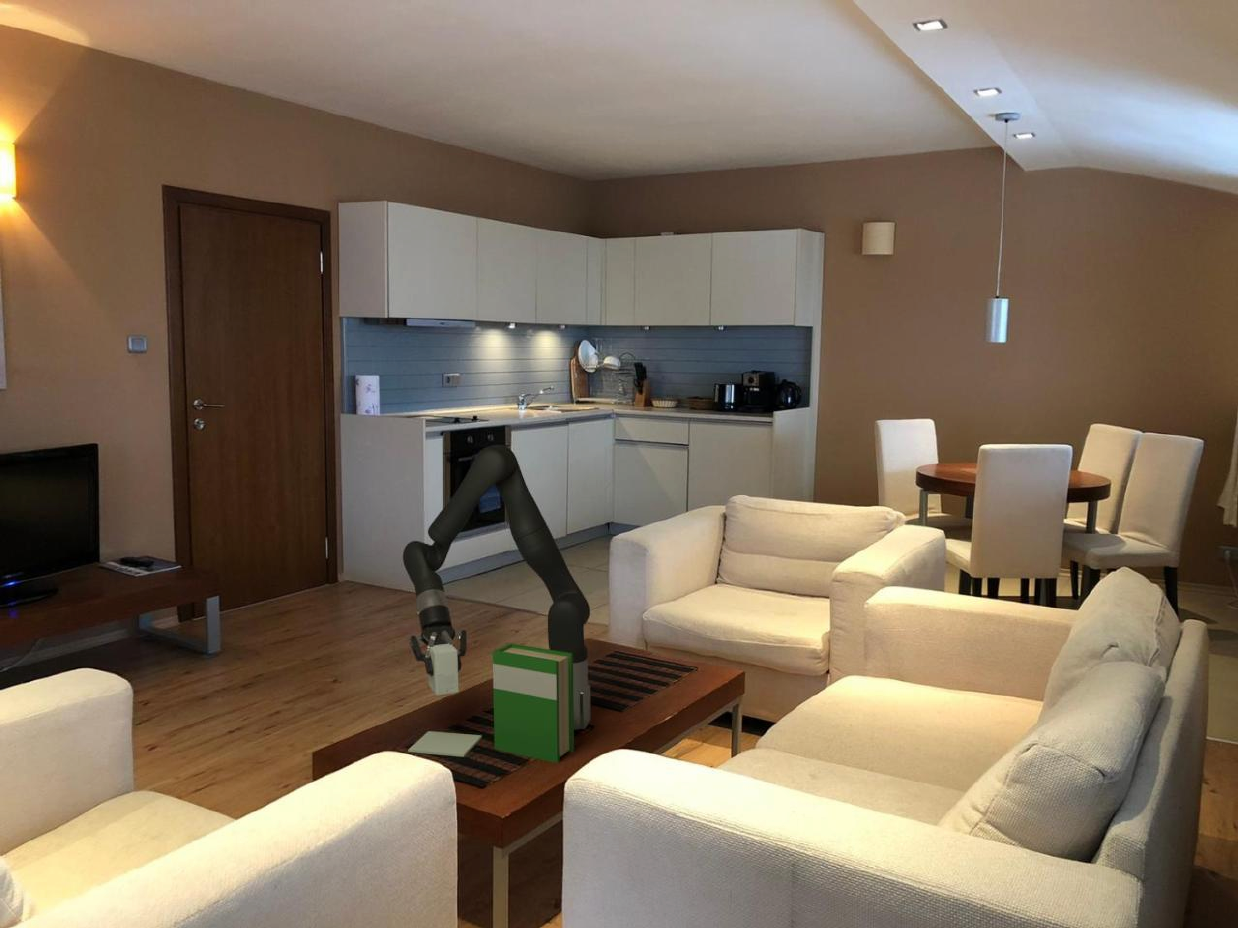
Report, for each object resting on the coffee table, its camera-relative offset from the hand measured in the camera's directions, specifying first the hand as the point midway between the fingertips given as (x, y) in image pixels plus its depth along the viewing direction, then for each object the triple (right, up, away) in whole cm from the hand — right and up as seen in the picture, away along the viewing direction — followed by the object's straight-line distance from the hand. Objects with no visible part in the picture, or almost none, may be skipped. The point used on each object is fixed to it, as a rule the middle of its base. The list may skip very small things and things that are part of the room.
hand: (444, 672), depth 240 cm
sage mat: (0, -18, +3) cm, 18 cm away
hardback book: (+21, -18, -1) cm, 28 cm away
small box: (-1, -5, +2) cm, 5 cm away
